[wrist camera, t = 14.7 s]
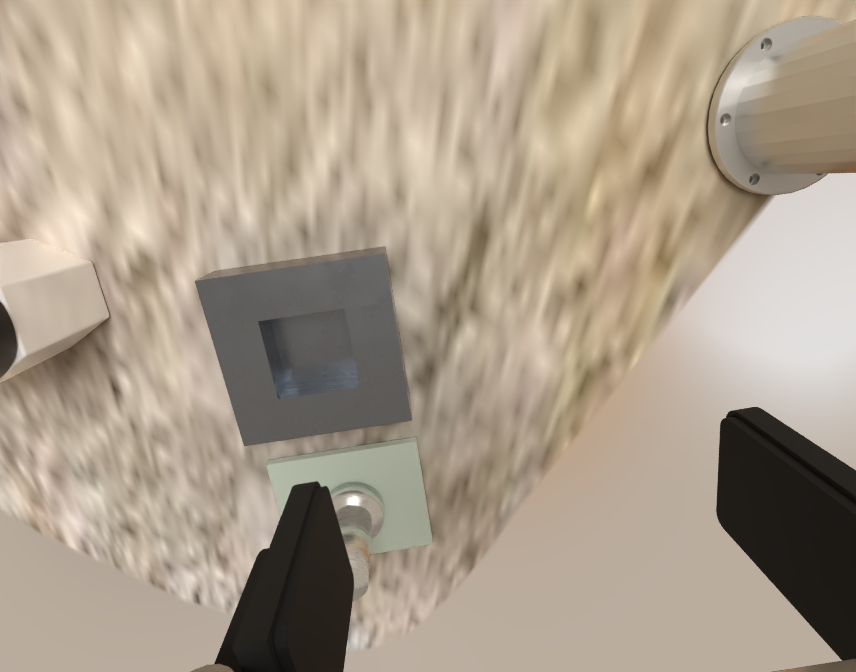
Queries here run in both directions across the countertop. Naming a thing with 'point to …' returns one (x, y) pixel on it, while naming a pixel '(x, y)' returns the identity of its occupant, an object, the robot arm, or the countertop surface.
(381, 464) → the mat
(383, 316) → the housing
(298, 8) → the countertop surface
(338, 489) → the grey rounded knob
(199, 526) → the countertop surface
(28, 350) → the jar
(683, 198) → the countertop surface
